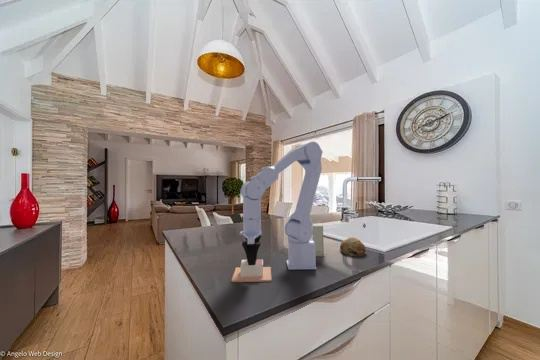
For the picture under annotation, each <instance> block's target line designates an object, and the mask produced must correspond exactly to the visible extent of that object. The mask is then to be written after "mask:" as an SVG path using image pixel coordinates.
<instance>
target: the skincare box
mask: <svg viewBox="0 0 540 360" xmlns="http://www.w3.org/2000/svg"><path fill="white" fill-rule="evenodd" d="M312 231H313V234H312V240H313V241H314V243H315V250H316V257H324V256H325V254H324V252H325V250H324V249H325V247H324V245H325V244H324V224H323V223H314V222H313V225H312Z"/></svg>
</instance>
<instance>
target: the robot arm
mask: <svg viewBox="0 0 540 360" xmlns="http://www.w3.org/2000/svg"><path fill="white" fill-rule="evenodd" d="M322 155H323V150H322V148H321V146H320V144H319V143H318V142H316V141H315V140H311V141H309V142H306V143H304V144H298V145H296V146H295V147H293V148H291V149H290V150H289V151H288V152H286V154H285V155H284V156H282V157H281V158H280V159H279V160H278V161H277V162H276V163H275V164H273V165H272V166H269V165H268V166H263V167H261V168H260V170H261V171H259V172H258V173H257V174H256V175H255V176H253V175H252V176H251V177H250V181H249V180H248V181H245V182H244V183H242V186H241V188H240V190H239V192H240V194H241V196H242V198H243V199H242V202H243V204H242V220H243V222H242V224H243V226H242V227H243V229H242V230H241V231H240V232H239V236H244V238H245V241H242V242H241V246H242V248H243V250H244V252H245V255H246V260H247V262H248V265H255V264H256V259H257V257H258V251H259V249H260V247H261V243H262V242H261V241H260V239H261V238H262V234H263V232H262V215H261V214H262V211H261V210H262V209H261V208H262V206H261V203H262V202H261V198H262V197H263V196H264V193H265V191H266V190H268V188H270V186H272V185H273V184H274V183H275V182H277V180H278V179H279V175H280V174H281V172H283V171H285V170H287V168H288V167H290V166H291V165H292V164H293V163H295V162H297V163H298V164H299V165H300V166H301V167H302V168H303V169H304V171H305V173H304V177H303V180H302V184H301V187H300V188H301V189H300V192H299V195H298V198H297V203H296V206H295V210H294V212H293V213H292V214H290V216H289V219H288V221H287V222H286V223H285V225H284V233H285V234H286V236H287V244H288V245H287V247H288V248H287V249H288V250H287V251H288V253H287V254H288V259H287V260H286V261H285V262H286V265H287V270H317V267H316V266H317V264H316V259H317V258H316V257H317V256H316V250H315V243H314V241H313V239H312V238H313V230H312V225H313V223H314V222H313V219H312V218H311V216H310V215H311V213H312V209H313V204H314V200H315V197H316V193H317V189H318V185H319V181H320V177H321V173H322V169H323V168H322ZM311 239H312V240H311Z"/></svg>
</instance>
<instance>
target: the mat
mask: <svg viewBox="0 0 540 360" xmlns="http://www.w3.org/2000/svg"><path fill="white" fill-rule="evenodd" d="M258 282H260V283H261V282H262V283H263V282H267V283H268V282H272V267H271V266H263V276H253V277H241V266H240V267H236V266H235V270H234V272H233V274H232V278H231V283H258Z"/></svg>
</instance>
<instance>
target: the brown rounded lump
mask: <svg viewBox="0 0 540 360" xmlns="http://www.w3.org/2000/svg"><path fill="white" fill-rule="evenodd" d="M366 249H367V248H366V245H365V244H364V243H363V242H362V241H361V240H359V239H358V238H356V237H348V238H346V239H343V241H342V242H341V243H340V245H339V251H340V252H341V253H342V254H344V255H348V256H349V257H350V256H351V257H352V256H353V257H359V256H360V257H362V256H364V255H365V254H366Z"/></svg>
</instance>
